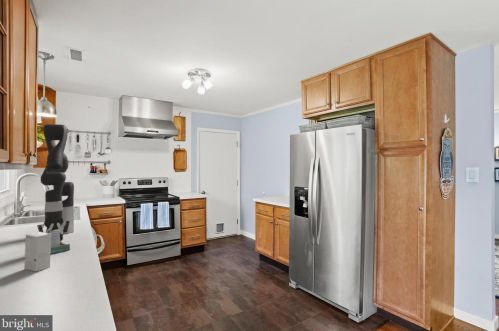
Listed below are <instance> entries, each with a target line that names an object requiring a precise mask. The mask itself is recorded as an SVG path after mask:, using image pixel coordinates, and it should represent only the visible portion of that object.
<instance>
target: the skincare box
mask: <svg viewBox="0 0 499 331" xmlns="http://www.w3.org/2000/svg"><path fill="white" fill-rule="evenodd" d="M45 232H46V231H43V232H39V231H37V232H32V233H26V234H25V242H24V243H25V246H24V247H25V248H24V263H23V264H24V266H23V268H24V270H27V271H32V272H40V271H42V270H46V269H48V268H51V254H50V253H51V234H49V233H45Z"/></svg>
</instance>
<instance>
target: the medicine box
mask: <svg viewBox="0 0 499 331" xmlns="http://www.w3.org/2000/svg"><path fill="white" fill-rule="evenodd" d="M49 234H51V248H52V247H57V246H60V242H61V241H60V230H59V229H54V230H51V231H49Z"/></svg>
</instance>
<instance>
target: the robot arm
mask: <svg viewBox="0 0 499 331" xmlns="http://www.w3.org/2000/svg"><path fill="white" fill-rule="evenodd" d="M42 129H43V130H42V131H43V136H44V140H45V144H46V147H47V157H46V164H45V168H44V170H43V172H42V173H41V176H40V183H41V185H43V186H52V189H49V190H46V191H45V195H44V199H45V201H44V202H45V203H44V208H43V209H44V222H43V223H41V224H37V230H38V232H45V233H49V231H51V230H54V229H59V230H60V242H63V240H64V235H65V234H71V233H73V232H75V227H74V226H75V219H74V218H75V215H74V214H75V212H74V211H75V210H74V207H75V206H74V199H75V198H74V197H75V196H74V193H75V185H74V182H73V181H66V180H67V177H66V174H65V173H66V172H67V171H68V169H69V160H68V156H67V155H66V153H64V152H65V148H66V145H67V140H68V129H67V126H66V125H65V124H58V123H57V124H56V123H46V124H44V125H43V128H42ZM54 141H58V143H56V144H55V142H54ZM63 197H67V198H65V199H63ZM44 227H45V228H46V229H45V231H44Z"/></svg>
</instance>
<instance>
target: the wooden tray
mask: <svg viewBox="0 0 499 331" xmlns="http://www.w3.org/2000/svg"><path fill="white" fill-rule="evenodd" d="M70 250H71V244H70V243H68V244H67V243H64V242H63V241H60V246H57V247H52V248H51V253H50V255H54V254H55V255H56V254H58V253H63V252H68V251H70Z"/></svg>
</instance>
